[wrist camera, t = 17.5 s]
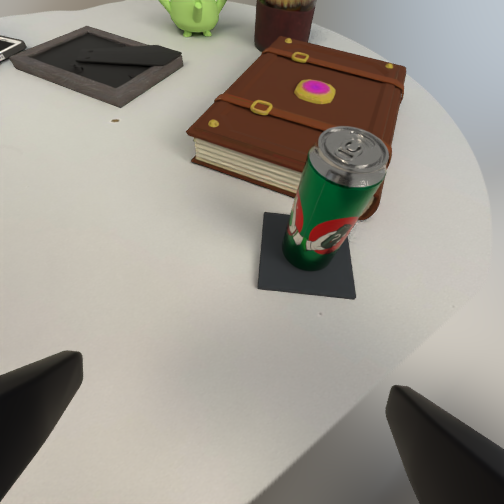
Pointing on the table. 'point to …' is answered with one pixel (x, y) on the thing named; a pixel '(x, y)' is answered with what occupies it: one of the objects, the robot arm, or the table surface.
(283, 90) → the book
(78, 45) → the picture frame
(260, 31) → the vase
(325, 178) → the soda can
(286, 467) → the table surface
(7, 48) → the cell phone
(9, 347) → the table surface
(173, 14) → the teapot
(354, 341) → the table surface
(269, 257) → the coaster mat
